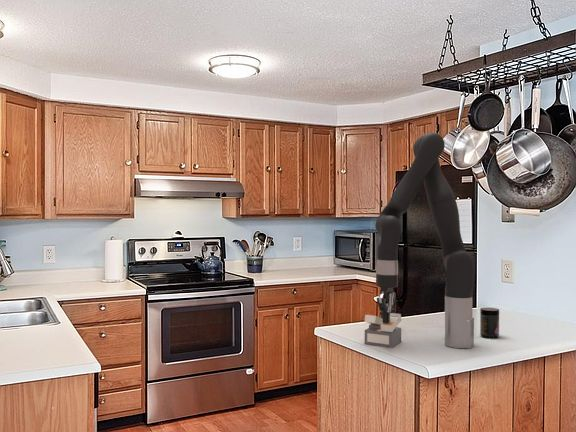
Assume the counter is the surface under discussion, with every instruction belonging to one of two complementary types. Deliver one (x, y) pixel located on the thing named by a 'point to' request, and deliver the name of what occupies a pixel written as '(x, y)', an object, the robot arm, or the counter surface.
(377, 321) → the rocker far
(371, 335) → the grey box
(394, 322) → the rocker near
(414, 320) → the counter surface
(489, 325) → the supplement container
